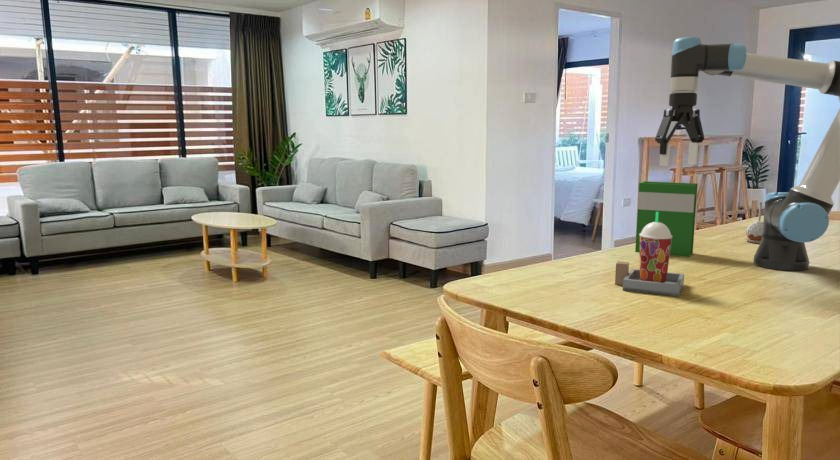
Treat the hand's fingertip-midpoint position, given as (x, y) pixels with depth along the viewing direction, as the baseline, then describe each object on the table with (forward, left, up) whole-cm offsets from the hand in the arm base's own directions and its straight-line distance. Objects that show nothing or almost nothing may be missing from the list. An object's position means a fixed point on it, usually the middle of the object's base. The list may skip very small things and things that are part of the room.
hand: (678, 165), depth 191 cm
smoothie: (+2, +26, -31) cm, 41 cm away
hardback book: (+5, -25, -32) cm, 41 cm away
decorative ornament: (-24, -61, -32) cm, 73 cm away
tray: (+3, +26, -32) cm, 41 cm away
